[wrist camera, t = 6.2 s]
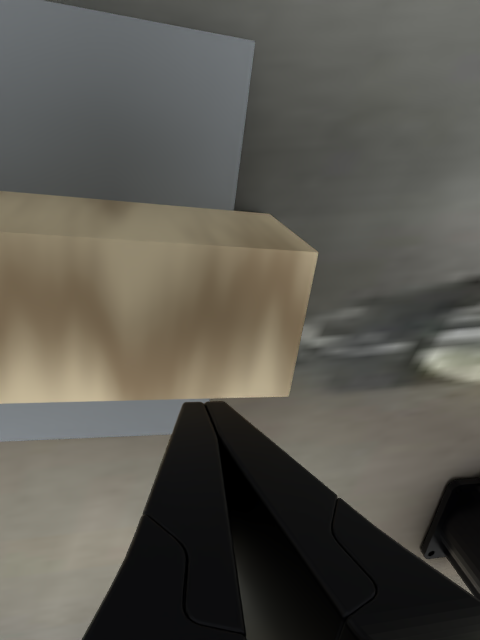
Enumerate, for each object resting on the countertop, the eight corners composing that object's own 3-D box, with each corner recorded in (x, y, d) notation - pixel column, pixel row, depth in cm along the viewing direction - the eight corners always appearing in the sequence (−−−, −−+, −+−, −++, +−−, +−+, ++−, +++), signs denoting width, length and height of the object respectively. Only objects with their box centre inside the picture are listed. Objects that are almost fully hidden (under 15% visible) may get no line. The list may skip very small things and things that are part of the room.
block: (288, 396, 15) (-135, 406, 12) (251, 329, 20) (-67, 324, 17) (318, 252, 13) (-181, 220, 10) (269, 213, 18) (-90, 183, 14)
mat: (203, 424, 22) (205, 433, 21) (-84, 435, 19) (-89, 445, 18) (250, 42, 15) (255, 41, 15) (-175, -38, 12) (-188, -45, 12)
